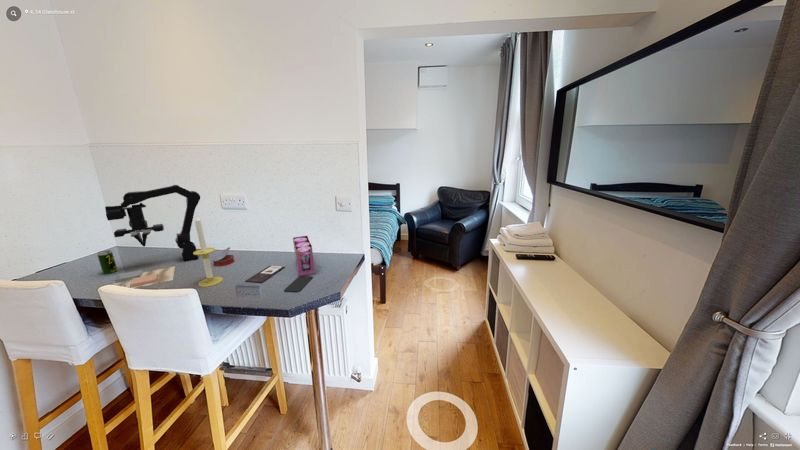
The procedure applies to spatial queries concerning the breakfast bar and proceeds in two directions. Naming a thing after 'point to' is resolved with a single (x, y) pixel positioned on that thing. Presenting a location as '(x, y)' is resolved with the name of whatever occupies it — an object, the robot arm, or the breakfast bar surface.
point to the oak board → (163, 274)
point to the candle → (205, 258)
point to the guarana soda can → (107, 262)
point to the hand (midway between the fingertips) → (144, 246)
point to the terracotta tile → (144, 280)
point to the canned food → (223, 258)
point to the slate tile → (128, 276)
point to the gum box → (303, 255)
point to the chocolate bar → (265, 274)
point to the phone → (298, 284)
